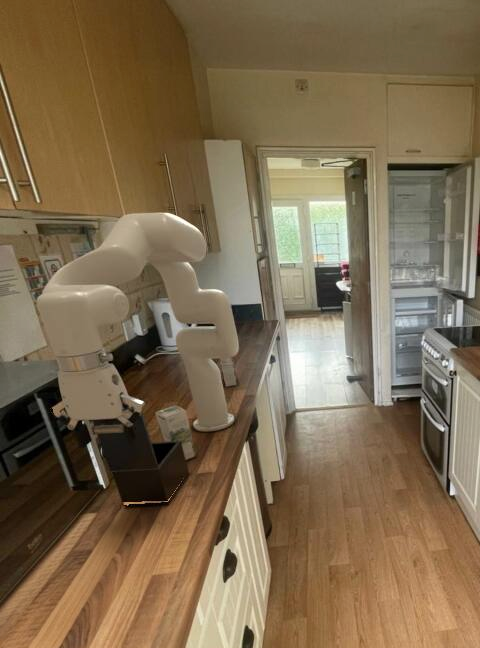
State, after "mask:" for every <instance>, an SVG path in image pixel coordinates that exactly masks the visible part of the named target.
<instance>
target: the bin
mask: <svg viewBox="0 0 480 648" xmlns="http://www.w3.org/2000/svg"><path fill="white" fill-rule="evenodd" d="M151 443H152V446H153V449H154V453H155V456H156V460H157V463H158V466H159V467H158V468H157V469H140V470H122V471H111V474H112V477H113V479H114V482H115V486H116V488H117V491H118V494H119V497H120V500H121V503H122V502H142V501H168V499H169V498H170V497H171V496H172V497H171V498H170V500H169V501H168V502H161V503H145V504H129V505H128V506H127V505H124V506H125V507H126V508H125V509H135V508H136V509H137V508H149V507H150V508H151V507H166V506H167V507H168V506H170V505H171V503H172V501H173V500H174V499H175V497H176V496H177V494H178V493H179V491H180V490H181V488H182V486H183V485H184V483H185V481H187V479H188V477H189V475H190V472H189V468H188V464H187V460H185V456H184V452H183V448H182V444H181V441H173V442H163V441H159V442H158V441H157V442H151ZM183 478H184V479H183ZM181 481H182V482H181ZM179 484H180V485H179ZM178 485H179V486H178ZM177 487H178V488H177ZM176 488H177V489H176ZM175 490H176V491H175ZM174 491H175V492H174ZM173 493H174V494H173ZM172 494H173V495H172ZM124 506H123V507H124Z"/></svg>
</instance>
